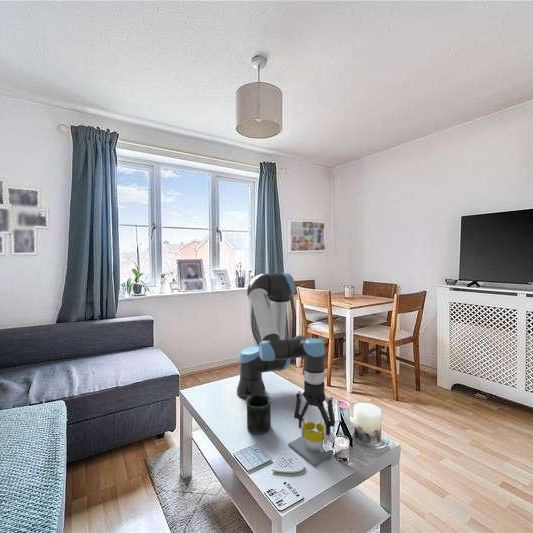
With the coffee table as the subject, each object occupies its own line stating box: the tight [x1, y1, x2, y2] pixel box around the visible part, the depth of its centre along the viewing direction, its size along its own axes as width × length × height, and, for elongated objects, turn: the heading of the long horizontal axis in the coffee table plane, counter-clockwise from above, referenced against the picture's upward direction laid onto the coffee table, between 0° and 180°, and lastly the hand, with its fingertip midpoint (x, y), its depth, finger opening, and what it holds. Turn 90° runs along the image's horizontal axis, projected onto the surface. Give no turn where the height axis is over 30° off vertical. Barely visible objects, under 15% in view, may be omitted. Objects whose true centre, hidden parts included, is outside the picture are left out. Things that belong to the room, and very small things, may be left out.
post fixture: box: [287, 429, 334, 468], centre depth 113 cm, size 14×14×5 cm
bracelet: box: [304, 421, 325, 442], centre depth 112 cm, size 7×8×3 cm
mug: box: [245, 394, 272, 435], centre depth 128 cm, size 11×15×12 cm
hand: (314, 439), depth 113 cm, fingers closed on bracelet, 8 cm apart
